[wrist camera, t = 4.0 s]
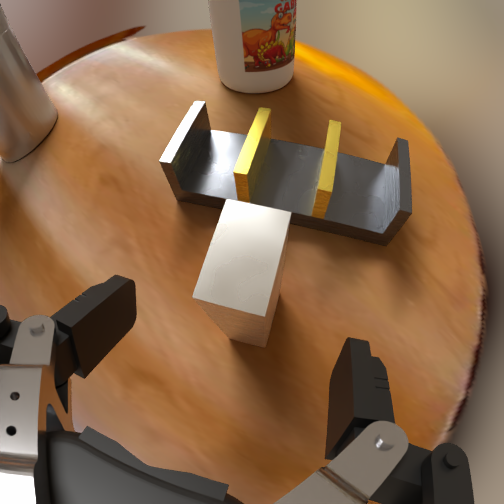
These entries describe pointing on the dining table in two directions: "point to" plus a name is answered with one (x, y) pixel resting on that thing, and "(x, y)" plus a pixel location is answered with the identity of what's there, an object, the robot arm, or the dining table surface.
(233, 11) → the milk bottle
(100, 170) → the dining table surface
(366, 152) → the dining table surface
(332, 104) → the dining table surface
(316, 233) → the dining table surface
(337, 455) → the robot arm
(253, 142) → the rack
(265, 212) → the white block
